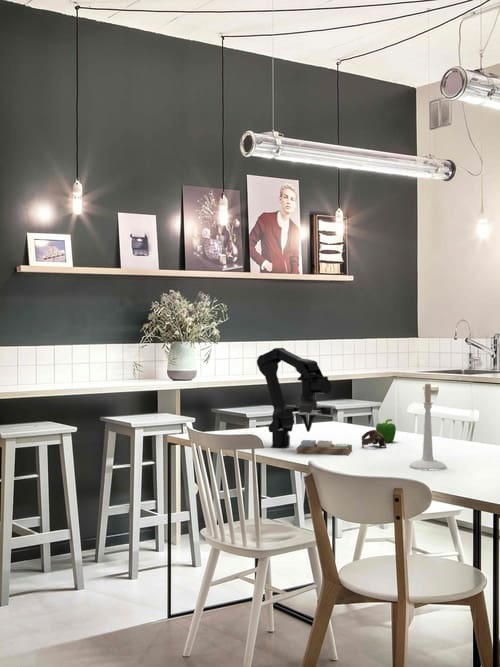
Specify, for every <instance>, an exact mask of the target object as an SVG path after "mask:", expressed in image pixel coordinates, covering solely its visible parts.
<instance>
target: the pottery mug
mask: <svg viewBox="0 0 500 667" xmlns="http://www.w3.org/2000/svg"><path fill="white" fill-rule="evenodd" d="M371 444H372V445H377V444H378V446H379V447H384V449H387V443H386V442H385V439H384V437H383V436H382V434H380V433H378V432H377V430H376V429H372V430H369V431H366V432H365V433H364V434H363V435H361V447H362V448H365V446H368V445H371Z"/></svg>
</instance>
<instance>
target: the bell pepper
mask: <svg viewBox="0 0 500 667" xmlns="http://www.w3.org/2000/svg"><path fill="white" fill-rule="evenodd" d="M392 421H393V419H391V418H387V419H386V420H385V421H384V422H383V423H382V422H381V423H377V424H376V426H375V430H377V432H378V433H380V434H382V436H383V437H384V439H385V442H386V444H388V443H394V440H395V436H396V432H397V430H396V428H397V427H396V425H395V424H394V423H393V422H392ZM389 422H390V423H389ZM391 422H392V423H391Z"/></svg>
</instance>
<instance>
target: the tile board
mask: <svg viewBox="0 0 500 667" xmlns="http://www.w3.org/2000/svg"><path fill="white" fill-rule="evenodd" d="M335 444H336V443H335ZM335 444H334V443H332V447H317V443H316V446H315V447H305V446H301V444H299V445H298V446H296V454H297V453H303V454H304V455H324V456H325V455H329V456H349V455H350V454H351V453H352V451H353V444H348V448H334V445H335ZM303 454H302V455H303Z"/></svg>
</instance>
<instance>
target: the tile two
mask: <svg viewBox="0 0 500 667" xmlns="http://www.w3.org/2000/svg"><path fill="white" fill-rule="evenodd" d="M316 444H317V447H332V444H333V440H318V441H317V442H316Z"/></svg>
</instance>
